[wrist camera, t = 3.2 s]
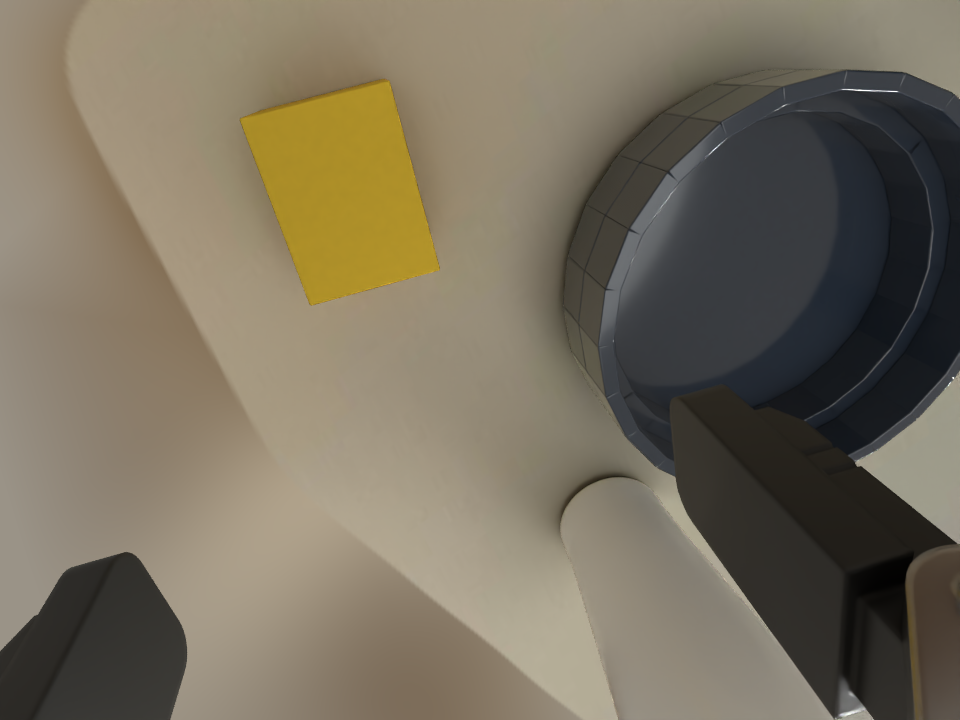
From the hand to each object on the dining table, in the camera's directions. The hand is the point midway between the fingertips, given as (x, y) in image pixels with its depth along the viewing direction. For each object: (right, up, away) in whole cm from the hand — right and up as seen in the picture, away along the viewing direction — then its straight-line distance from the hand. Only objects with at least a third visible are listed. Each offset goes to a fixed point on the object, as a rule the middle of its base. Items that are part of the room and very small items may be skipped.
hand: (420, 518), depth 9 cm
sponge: (-4, +9, +14) cm, 17 cm away
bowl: (+12, +6, +18) cm, 23 cm away
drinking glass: (+7, -6, +23) cm, 25 cm away
